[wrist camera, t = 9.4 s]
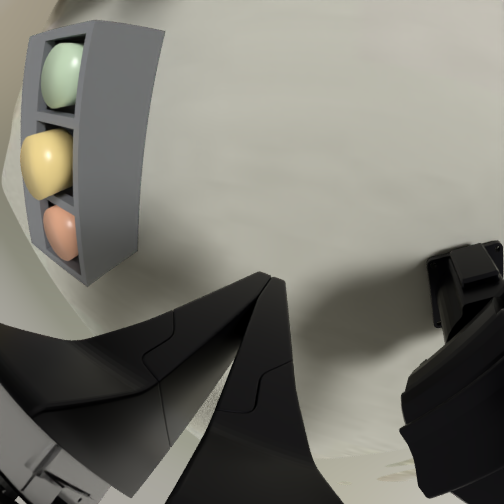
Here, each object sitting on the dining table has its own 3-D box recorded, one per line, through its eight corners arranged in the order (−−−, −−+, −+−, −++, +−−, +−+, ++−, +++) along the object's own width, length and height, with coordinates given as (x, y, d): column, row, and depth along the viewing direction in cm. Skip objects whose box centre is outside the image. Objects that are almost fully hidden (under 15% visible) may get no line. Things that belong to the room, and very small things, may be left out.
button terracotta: (96, 206, 23) (70, 219, 20) (98, 255, 26) (76, 269, 23) (64, 190, 24) (40, 201, 21) (68, 235, 27) (47, 247, 24)
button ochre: (80, 132, 17) (47, 141, 15) (79, 195, 20) (50, 208, 18) (48, 124, 18) (19, 132, 16) (48, 179, 21) (22, 190, 19)
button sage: (111, 41, 15) (79, 40, 13) (100, 105, 18) (69, 111, 15) (74, 45, 16) (45, 46, 14) (66, 101, 19) (38, 106, 17)
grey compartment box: (165, 31, 18) (95, 19, 12) (137, 250, 30) (87, 286, 24) (90, 35, 20) (29, 36, 14) (78, 217, 32) (31, 242, 26)
